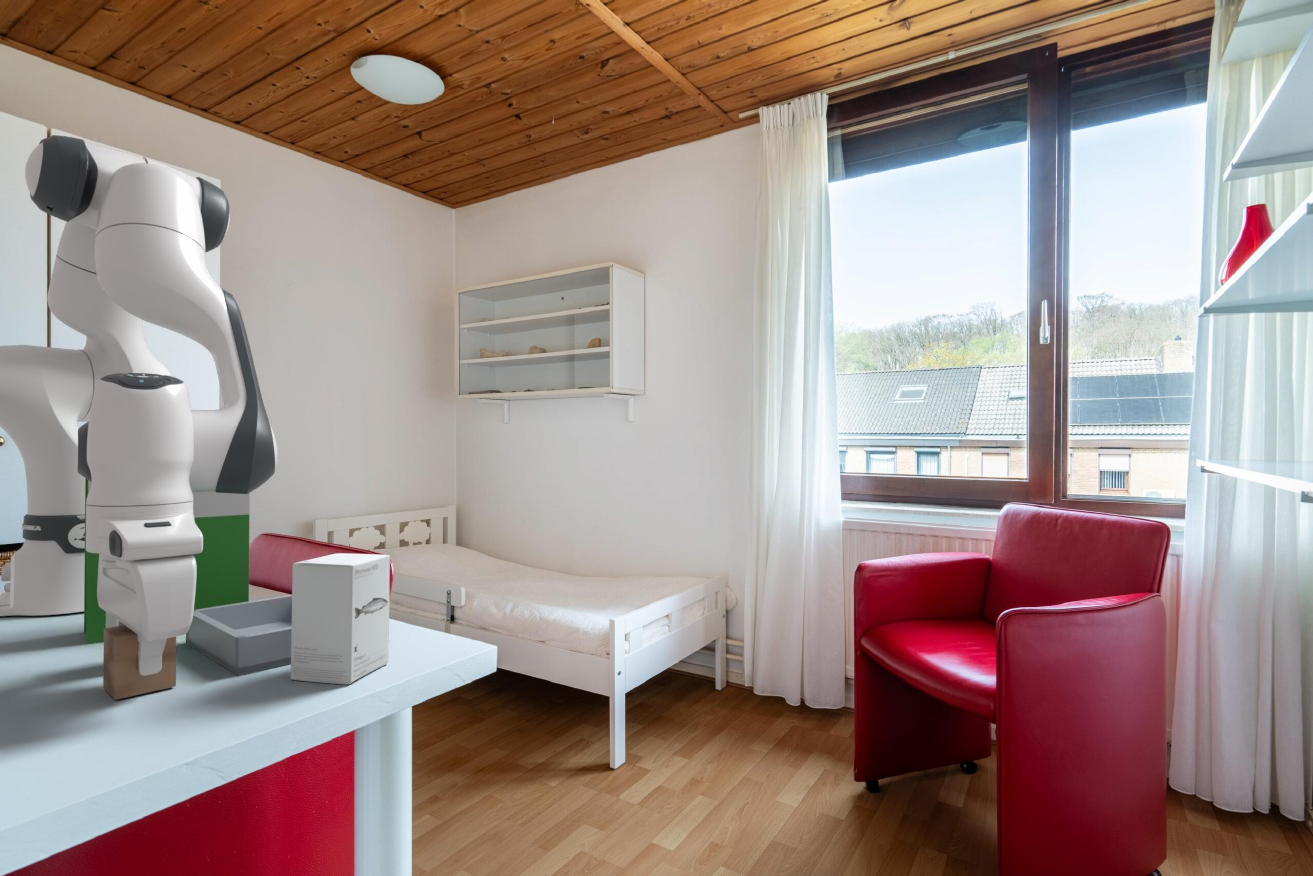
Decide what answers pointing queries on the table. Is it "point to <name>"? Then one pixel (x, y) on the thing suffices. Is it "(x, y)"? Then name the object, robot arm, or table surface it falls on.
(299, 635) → the supplement box
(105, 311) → the robot arm
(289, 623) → the tray
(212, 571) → the hardback book
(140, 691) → the walnut block
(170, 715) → the table surface
